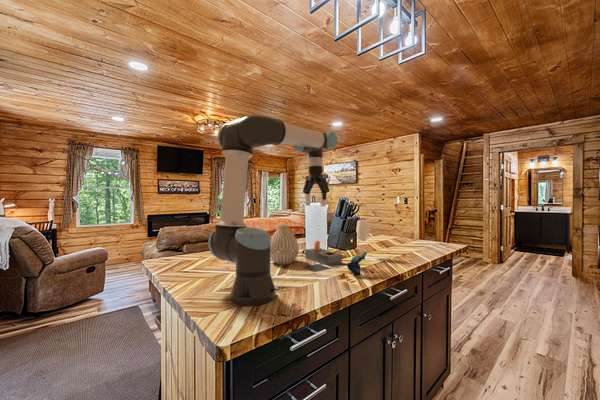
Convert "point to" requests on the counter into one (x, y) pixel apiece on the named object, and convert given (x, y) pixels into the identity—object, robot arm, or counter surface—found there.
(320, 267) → the mat
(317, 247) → the peg
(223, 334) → the counter surface
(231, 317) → the counter surface
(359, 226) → the cup
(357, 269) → the fish
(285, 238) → the vase
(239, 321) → the counter surface
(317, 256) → the hole block
